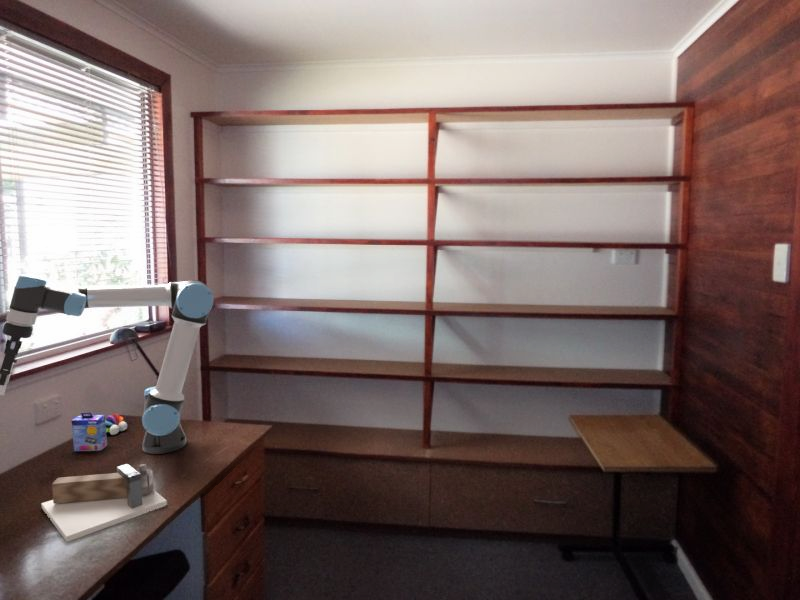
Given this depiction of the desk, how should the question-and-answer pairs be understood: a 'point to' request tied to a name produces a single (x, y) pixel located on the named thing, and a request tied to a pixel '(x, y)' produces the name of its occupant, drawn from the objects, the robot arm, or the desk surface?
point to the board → (96, 513)
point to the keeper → (131, 485)
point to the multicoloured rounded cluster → (115, 424)
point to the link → (98, 486)
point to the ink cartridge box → (89, 432)
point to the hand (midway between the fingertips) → (0, 388)
